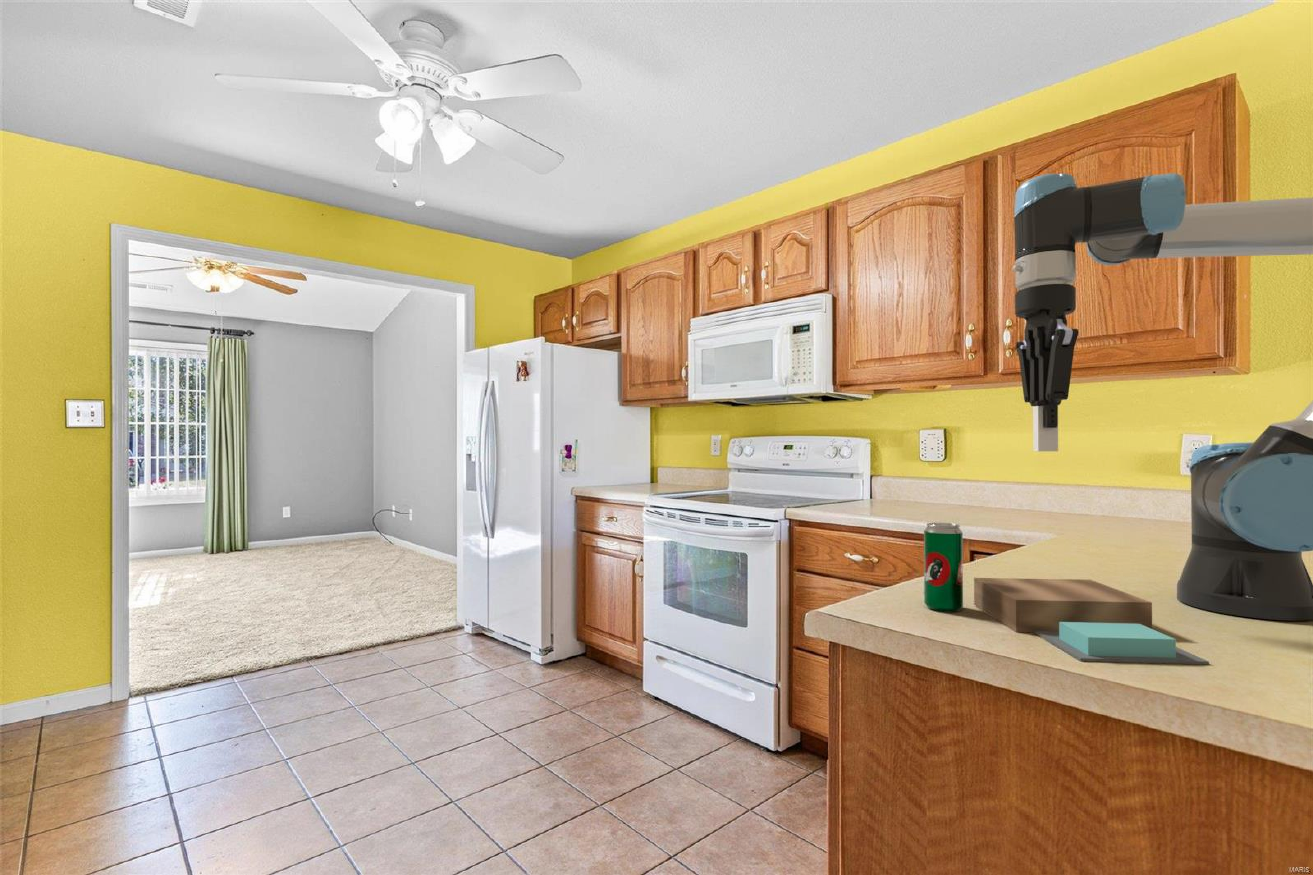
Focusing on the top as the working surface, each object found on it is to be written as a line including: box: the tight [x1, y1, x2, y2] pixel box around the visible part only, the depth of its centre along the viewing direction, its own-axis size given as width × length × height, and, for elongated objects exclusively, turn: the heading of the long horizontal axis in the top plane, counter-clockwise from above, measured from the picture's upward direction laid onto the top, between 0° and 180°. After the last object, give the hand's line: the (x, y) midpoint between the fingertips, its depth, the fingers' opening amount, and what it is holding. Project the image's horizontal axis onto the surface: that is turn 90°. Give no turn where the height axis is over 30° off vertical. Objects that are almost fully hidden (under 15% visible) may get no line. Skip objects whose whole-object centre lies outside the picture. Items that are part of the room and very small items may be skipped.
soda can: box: [923, 522, 964, 613], centre depth 92 cm, size 5×5×12 cm
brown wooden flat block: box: [973, 577, 1153, 633], centre depth 86 cm, size 16×13×4 cm
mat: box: [1034, 631, 1210, 665], centre depth 74 cm, size 13×10×1 cm
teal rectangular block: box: [1059, 622, 1177, 658], centre depth 73 cm, size 9×6×2 cm, turn 85°
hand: (1045, 451), depth 93 cm, fingers closed
